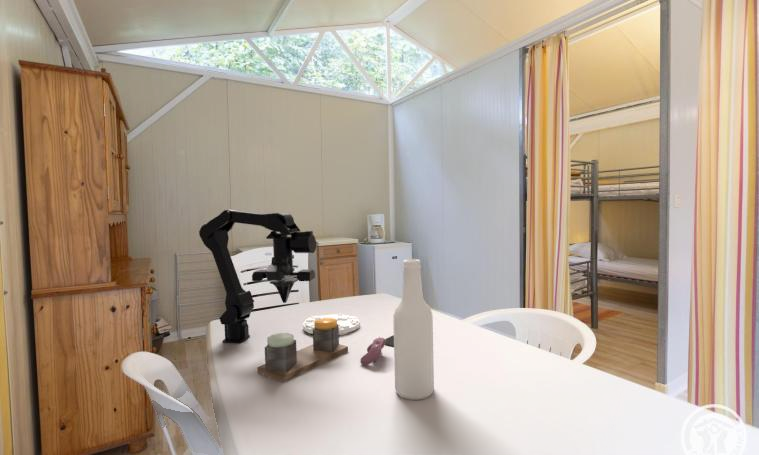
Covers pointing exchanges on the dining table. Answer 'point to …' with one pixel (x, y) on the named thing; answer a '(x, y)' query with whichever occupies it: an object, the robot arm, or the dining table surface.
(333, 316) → the giant coin
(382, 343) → the video game controller
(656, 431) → the dining table surface
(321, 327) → the orange button
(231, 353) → the dining table surface
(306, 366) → the button board
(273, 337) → the pale green rounded piece
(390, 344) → the phone
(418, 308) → the alcohol
